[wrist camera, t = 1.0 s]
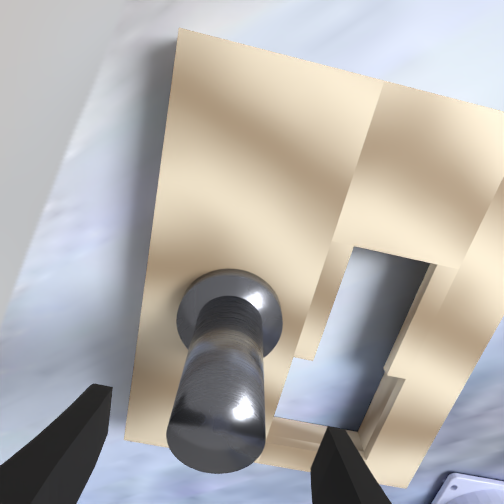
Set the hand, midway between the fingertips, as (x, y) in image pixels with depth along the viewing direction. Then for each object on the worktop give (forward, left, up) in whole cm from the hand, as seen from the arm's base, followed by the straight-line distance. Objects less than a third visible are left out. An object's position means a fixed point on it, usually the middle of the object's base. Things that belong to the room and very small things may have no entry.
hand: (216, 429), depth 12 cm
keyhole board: (+1, -5, -9) cm, 10 cm away
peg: (0, 0, -7) cm, 7 cm away
